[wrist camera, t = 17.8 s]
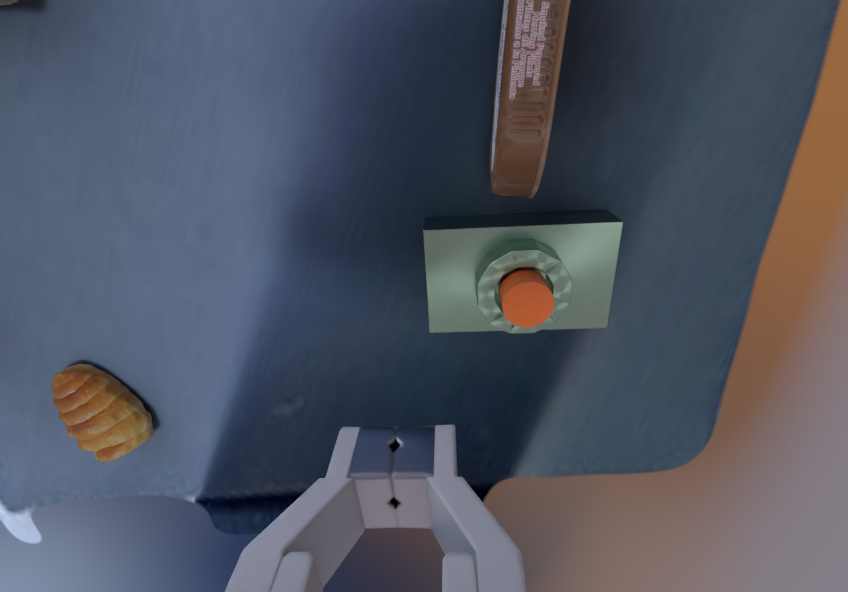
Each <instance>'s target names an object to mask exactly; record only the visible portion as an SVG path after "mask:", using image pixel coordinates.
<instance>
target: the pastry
mask: <svg viewBox="0 0 848 592" xmlns="http://www.w3.org/2000/svg"><path fill="white" fill-rule="evenodd" d="M52 391H53V394H54V399H53V402H54V404H55V405H56V407H57V408H58V409H59V410H60V411H59V418H60V419H61V420H62V421H64V422H65V423H66V428H67V434H68V436H70V437H76V438H77V443H78V447H79V448H80V449H82V450H92V451H93V452H94V454H95V456H96V459H97V460H99V461H101V462H107V461H111V460H116V459H118V458H120V457H121V456H123V455H124V454H128V453H130V452H131V451H133V450H134V449H136V448H137V447H139V446H140V445H142V444H143V443H144V442H145V441H147V440H148V439H149V438H151V437H152V436H153V425H152V417H151V414H150V412H149V413H148V412H147V411H146V410H145V408H144V406H143V403H142V402H141V401H140V400H139V399H138V398H137V397H136V396H135V395H134V394H132V393H131V392H130V391H129V390H128V389H127V387H126V386H123V385H122V384H121V383H120V381H118V380H117V379H115V378H114V377H113V376H112V375H110V374H108V373H106V372H105V371H102V370H99V369H97V368H95V367H93V366H92V365H89V364H77V365H73V366H70V367H68V368H67V369H65V370H63V371H61V372H59V373H57V374H56V375H54V377H53V384H52Z"/></svg>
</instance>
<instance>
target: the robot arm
mask: <svg viewBox="0 0 848 592" xmlns="http://www.w3.org/2000/svg"><path fill="white" fill-rule="evenodd" d="M394 527H395V528H396V527H401V528H402V527H403V528H432V531H433V533H434V535H435V537H436V539H437V540H438V542H439V544H440V546H441V548H442V550H443V551H444V553H445V555H446V556H445V557H444V558H443V578H442V592H527V588H526V581H525V575H524V569H523V563H522V557H521V551H520V550H519V549H518V547H517V546H516V545H515V543H514V542H513V541H512V540H511V538H510V537H509V536H508V534H507V533H506V532H505V531H504V529H503V528H502V527H501V526H500V524H499V523H498V522H497V520H496V519H495V518H494V517H493V515H492V514H491V513H490V512H489V510H488V509H487V508H486V506H485V505H484V504H483V503H482V501H481V500H480V499H479V497H478V496H477V495H476V494H475V492H474V491H473V490H472V489H471V487H470V486H469V485H468V483H467V482H466V481H465V480H464V478H463V477H457V458H456V436H455V425H436V426H435V425H434V426H398V427H342V429H341V430H340V431H339V435H338V438H337V441H336V444H335V448H334V451H333V454H332V458H331V461H330V464H329V468H328V471H327V474H326V477H325V478H319V479H318V480H317V481H316V482H315V483H314V484H313V485H312V486H311V487H310V488H309V489H308V490H306V491H305V492H304V493H303V494H302V495H301V496H300V497H299V498H298V499H297V500H296V501H295V502H294V503H293V504H291V505H290V506H289V507H288V508H287V509H286V510H285V511H284V512H283V513H282V514H281V515H280V516H279V517H277V518H276V519H275V520H274V521H273V522H272V523H271V524H270V525H269V526H268V527H267V528H266V529H265V530H264V531H262V532H261V533H260V534H259V535H258V536H257V537H256V538H255V539H254V540H253V541H252V542H251V543H250V544H249V545H247V546H246V547H245V548H244V549H243V551H242V553H241V556H240V558H239V560H238V563H237V565H236V567H235V569H234V572H233V574H232V576H231V578H230V581H229V583H228V586H227V588H226V590H225V592H324V591H323V587H324V586H325V584H326V583H327V582H328V580H329V579H330V577H331V576H332V575H333V573H334V572H335V571H336V569H337V568H338V566H339V565H340V564H341V562H342V561H343V560H344V558H345V557H346V555H347V554H348V553H349V551H350V550H351V548H352V547H353V546H354V544H355V543H356V541H357V540H358V539H359V537H360V536H361V535H362V533H363V532H364V528H394Z"/></svg>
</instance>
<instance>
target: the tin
mask: <svg viewBox="0 0 848 592" xmlns="http://www.w3.org/2000/svg"><path fill="white" fill-rule="evenodd" d="M570 3H571V0H503V10H502V20H501V29H500V39H499V48H498V59H497V70H496V81H495V93H494V106H493V120H492V133H491V148H490V166H489V174H490V180H491V189H492V192H493V193H494V194H497V195H509V196H525V197H527V198H533V197H534V196H535V194H536V192H537V190H538V187H539V185H540V181H541V178H542V173H543V170H544V166H545V161H546V155H547V152H548V146H549V139H550V134H551V128H552V121H553V114H554V108H555V101H556V94H557V88H558V82H559V75H560V67H561V62H562V54H563V48H564V42H565V35H566V29H567V22H568V15H569V8H570Z"/></svg>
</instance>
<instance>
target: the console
mask: <svg viewBox="0 0 848 592" xmlns="http://www.w3.org/2000/svg"><path fill="white" fill-rule="evenodd" d="M622 226H623V221H622V220H620V219H619V218H618V217H616V216H615V215H614V214H612V213H611V212H609V211H608V210H593V211H571V212H549V213H527V214H505V215H483V216H461V217H439V218H425V223H424V229H423V236H424V252H425V268H426V284H427V300H428V316H429V332H430V333H438V332H476V331H505V332H507V333H511V334H516V333H535V332H537V331H539V330H551V329H588V328H607V324H608V317H609V311H610V304H611V298H612V291H613V285H614V278H615V272H616V265H617V259H618V252H619V246H620V239H621V233H622ZM523 269H527V270H533V271H535V272H537V273H539V274H540V275H542V276H543V277H544V279H545V280H546V282H547V284H548V286H549V288H550V290H551V292H552V294H553V296H554V301H555V304H554V309H553V311H552V313H551V315H550V316H549V318H548V319H547V320H546V321H544V322H543V323H541V324H539V325H537V326H534V327H520V326H516V325H514V324H512V323H511V322H510V321H508V320H507V318H506V317H505V315H504V313H503V309H502V306H501V302H500V298H499V288H500V285H501V283H502V281H503V280H504V279H505V278H506V277H507V276H508V275H509V274H511V273H513V272H515V271H518V270H523Z"/></svg>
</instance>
